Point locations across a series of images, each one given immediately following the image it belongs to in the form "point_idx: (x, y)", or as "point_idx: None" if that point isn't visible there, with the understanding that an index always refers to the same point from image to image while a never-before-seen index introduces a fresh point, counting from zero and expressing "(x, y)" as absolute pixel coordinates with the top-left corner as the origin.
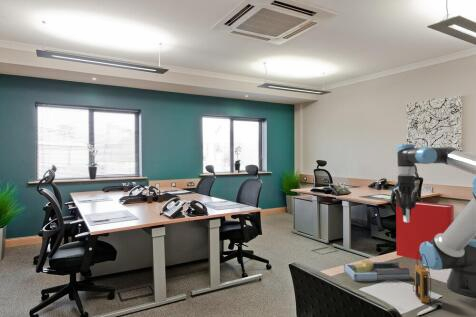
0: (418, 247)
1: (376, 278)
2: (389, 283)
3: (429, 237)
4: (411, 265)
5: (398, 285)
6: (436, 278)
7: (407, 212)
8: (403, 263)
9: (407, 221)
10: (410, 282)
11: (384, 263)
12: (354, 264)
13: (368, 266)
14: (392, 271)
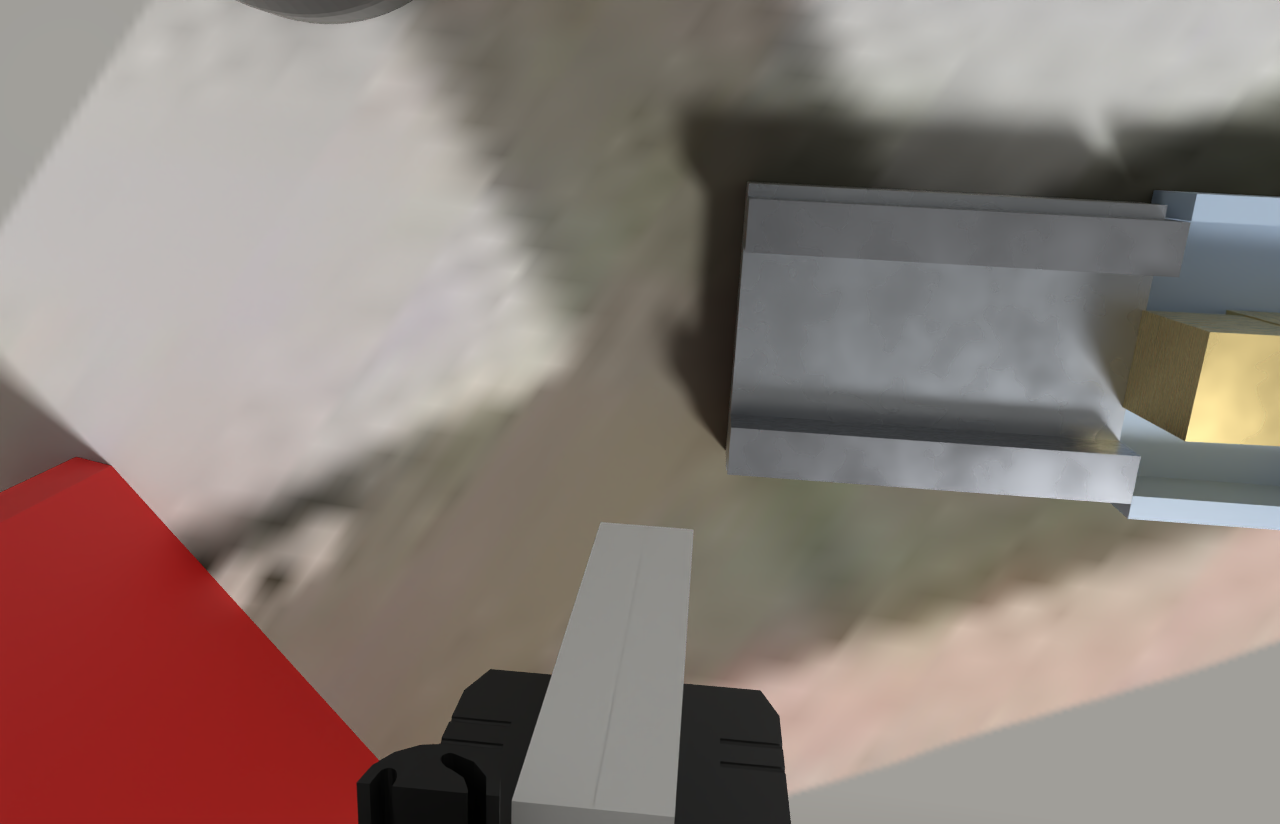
0: (230, 763)
1: (1174, 191)
2: (1065, 95)
3: (28, 774)
4: (476, 544)
5: (1000, 27)
6: (443, 165)
7: (635, 714)
8: (526, 609)
9: (665, 539)
10: (804, 93)
11: (923, 440)
12: (1278, 514)
13: (1250, 328)
14: (973, 209)
